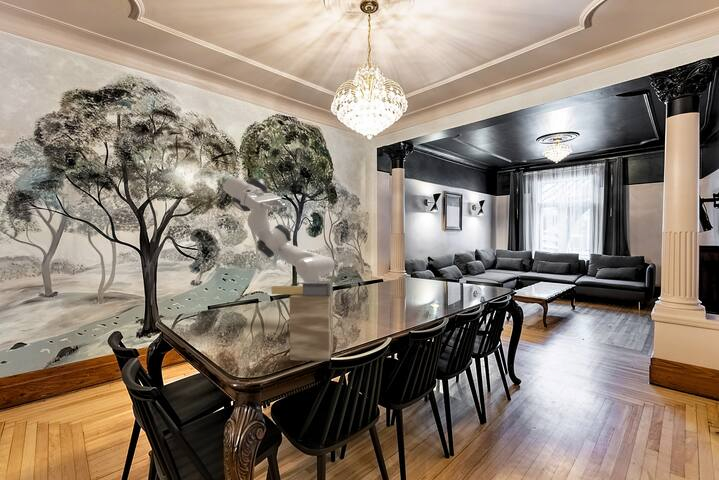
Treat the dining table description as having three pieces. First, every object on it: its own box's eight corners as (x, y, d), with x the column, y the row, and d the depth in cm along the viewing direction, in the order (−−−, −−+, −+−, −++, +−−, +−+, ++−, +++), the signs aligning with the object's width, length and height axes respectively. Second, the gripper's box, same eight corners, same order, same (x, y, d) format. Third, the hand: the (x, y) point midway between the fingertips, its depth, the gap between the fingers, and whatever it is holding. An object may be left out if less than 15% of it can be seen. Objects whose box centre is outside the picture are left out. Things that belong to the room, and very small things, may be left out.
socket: (307, 292, 140) (306, 280, 140) (332, 292, 139) (332, 280, 139) (302, 296, 132) (302, 283, 132) (329, 296, 132) (329, 283, 132)
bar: (273, 292, 139) (273, 285, 139) (328, 293, 137) (328, 286, 137) (271, 294, 136) (271, 287, 136) (327, 294, 134) (327, 287, 134)
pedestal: (297, 349, 143) (297, 291, 143) (333, 350, 142) (332, 291, 142) (290, 360, 131) (289, 297, 131) (328, 360, 130) (328, 297, 130)
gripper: (265, 200, 160) (288, 210, 157) (237, 204, 142) (263, 217, 138) (268, 188, 158) (292, 198, 155) (240, 191, 140) (266, 203, 136)
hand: (278, 207), depth 147 cm, fingers open, 8 cm apart
